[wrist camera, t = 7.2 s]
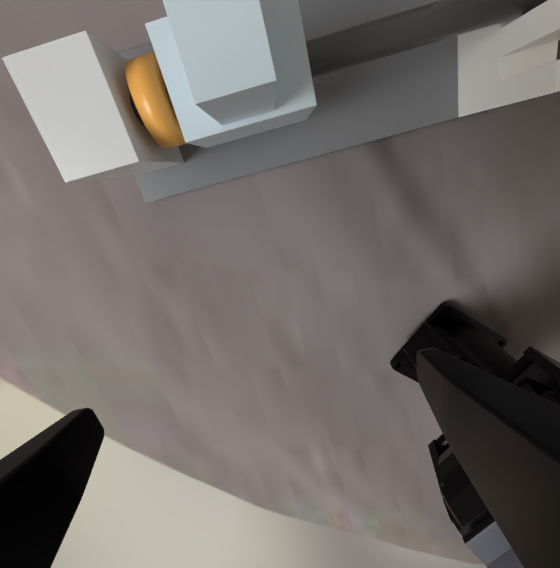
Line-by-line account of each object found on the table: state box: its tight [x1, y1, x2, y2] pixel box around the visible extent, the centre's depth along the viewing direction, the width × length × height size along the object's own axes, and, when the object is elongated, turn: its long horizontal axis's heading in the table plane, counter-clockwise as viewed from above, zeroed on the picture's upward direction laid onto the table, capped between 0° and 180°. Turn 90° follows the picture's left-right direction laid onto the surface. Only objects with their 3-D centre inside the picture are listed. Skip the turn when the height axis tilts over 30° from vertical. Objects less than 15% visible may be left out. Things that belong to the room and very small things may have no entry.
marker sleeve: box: [145, 0, 317, 148], centre depth 10 cm, size 5×4×8 cm
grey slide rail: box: [2, 0, 560, 203], centre depth 13 cm, size 21×7×7 cm, turn 104°
